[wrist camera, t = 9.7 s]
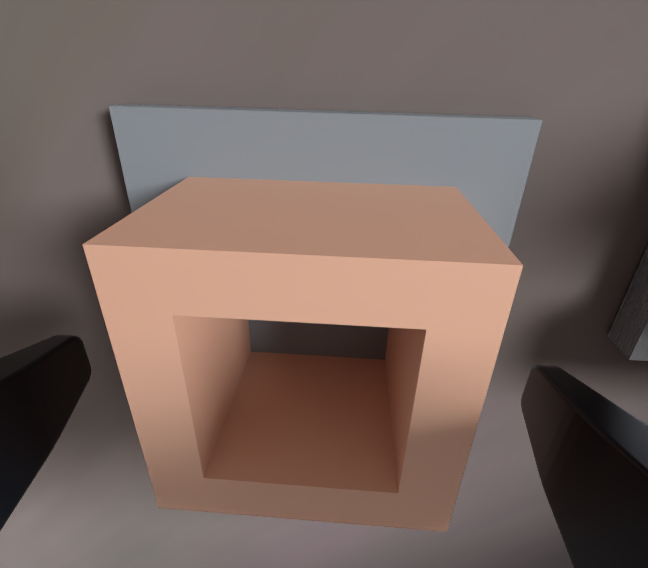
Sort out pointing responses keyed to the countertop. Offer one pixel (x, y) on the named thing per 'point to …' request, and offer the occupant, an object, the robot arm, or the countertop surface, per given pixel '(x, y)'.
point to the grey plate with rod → (633, 317)
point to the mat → (328, 173)
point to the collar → (305, 370)
